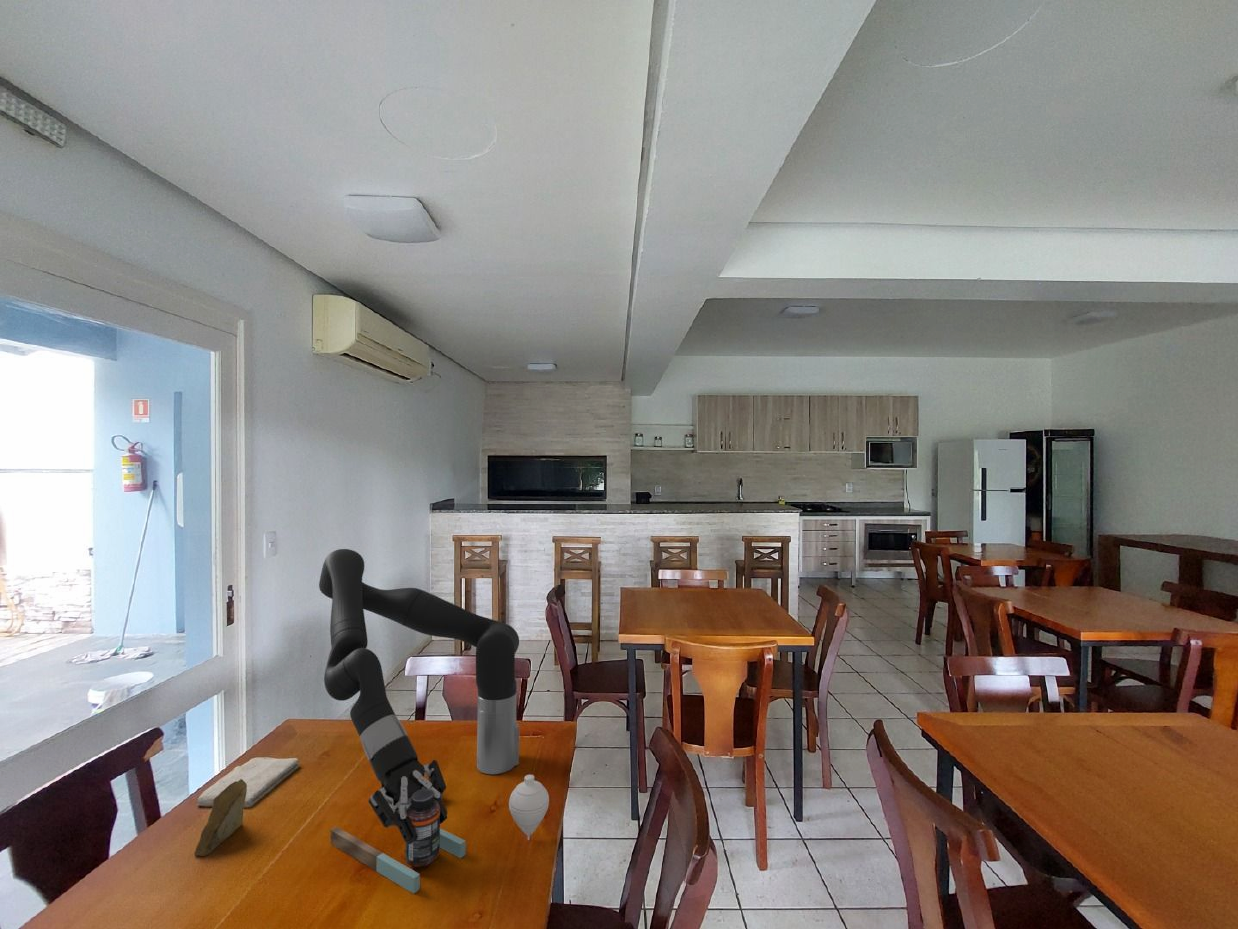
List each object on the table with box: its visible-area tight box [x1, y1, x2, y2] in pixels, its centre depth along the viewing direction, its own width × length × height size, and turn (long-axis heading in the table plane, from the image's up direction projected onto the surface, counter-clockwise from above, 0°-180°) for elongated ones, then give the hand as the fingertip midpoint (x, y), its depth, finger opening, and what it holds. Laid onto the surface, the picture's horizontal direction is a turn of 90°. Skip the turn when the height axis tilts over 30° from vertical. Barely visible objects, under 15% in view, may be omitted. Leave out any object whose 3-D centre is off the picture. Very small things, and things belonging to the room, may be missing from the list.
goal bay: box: [375, 828, 467, 894], centre depth 100 cm, size 10×11×2 cm
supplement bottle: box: [404, 789, 441, 868], centre depth 100 cm, size 6×6×11 cm
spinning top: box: [508, 774, 550, 841], centre depth 107 cm, size 8×8×12 cm
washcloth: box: [196, 756, 300, 808], centre depth 125 cm, size 12×18×3 cm, turn 179°
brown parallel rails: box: [330, 803, 392, 872], centre depth 106 cm, size 14×11×2 cm
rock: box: [193, 779, 247, 857], centre depth 106 cm, size 11×9×10 cm
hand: (428, 830), depth 99 cm, fingers closed on supplement bottle, 6 cm apart
